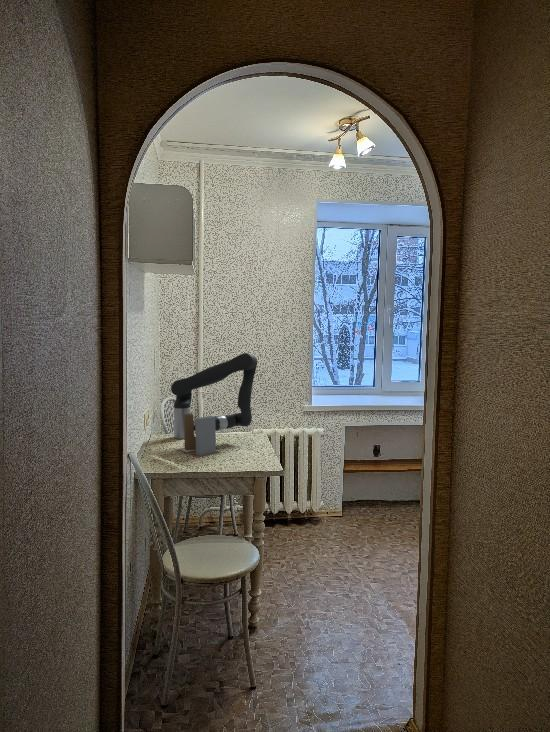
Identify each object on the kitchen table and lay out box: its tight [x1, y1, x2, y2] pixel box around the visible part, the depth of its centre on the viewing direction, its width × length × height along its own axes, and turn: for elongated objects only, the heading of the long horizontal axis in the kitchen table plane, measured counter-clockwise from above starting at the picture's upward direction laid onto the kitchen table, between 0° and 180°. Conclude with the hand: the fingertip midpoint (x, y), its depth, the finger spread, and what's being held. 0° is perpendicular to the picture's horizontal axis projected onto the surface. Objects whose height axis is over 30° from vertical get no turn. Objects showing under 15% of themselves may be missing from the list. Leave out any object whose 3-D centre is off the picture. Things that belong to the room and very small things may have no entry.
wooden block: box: [184, 412, 196, 450], centre depth 293 cm, size 9×4×18 cm, turn 104°
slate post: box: [194, 415, 217, 456], centre depth 284 cm, size 4×9×18 cm, turn 129°
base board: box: [175, 447, 222, 458], centre depth 290 cm, size 22×14×1 cm, turn 39°
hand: (189, 427), depth 292 cm, fingers open, 8 cm apart
